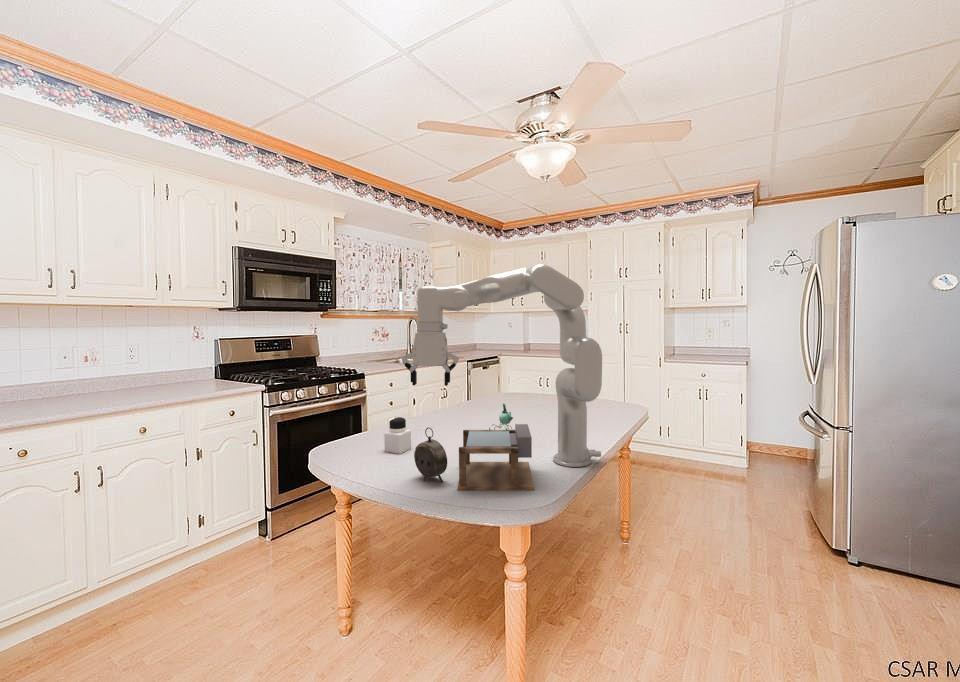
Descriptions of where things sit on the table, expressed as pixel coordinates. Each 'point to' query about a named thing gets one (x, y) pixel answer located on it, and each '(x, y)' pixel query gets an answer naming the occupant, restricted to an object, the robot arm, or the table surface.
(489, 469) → the frame
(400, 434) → the medicine bottle
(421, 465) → the alarm clock
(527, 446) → the trapdoor
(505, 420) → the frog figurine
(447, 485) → the table surface
